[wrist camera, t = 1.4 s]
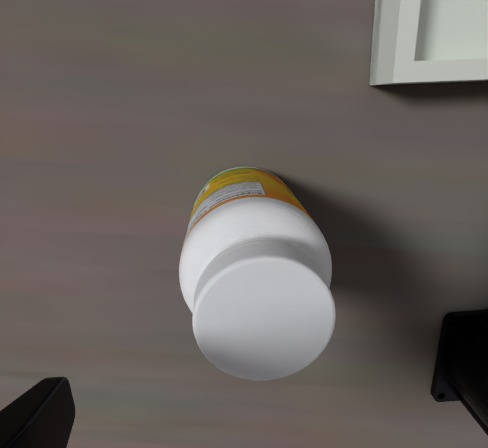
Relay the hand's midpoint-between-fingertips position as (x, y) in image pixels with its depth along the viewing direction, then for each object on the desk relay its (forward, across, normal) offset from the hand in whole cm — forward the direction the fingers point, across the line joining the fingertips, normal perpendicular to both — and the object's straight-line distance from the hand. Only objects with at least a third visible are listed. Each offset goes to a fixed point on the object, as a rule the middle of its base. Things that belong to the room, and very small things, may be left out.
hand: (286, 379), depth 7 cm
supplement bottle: (+12, 0, 0) cm, 12 cm away
